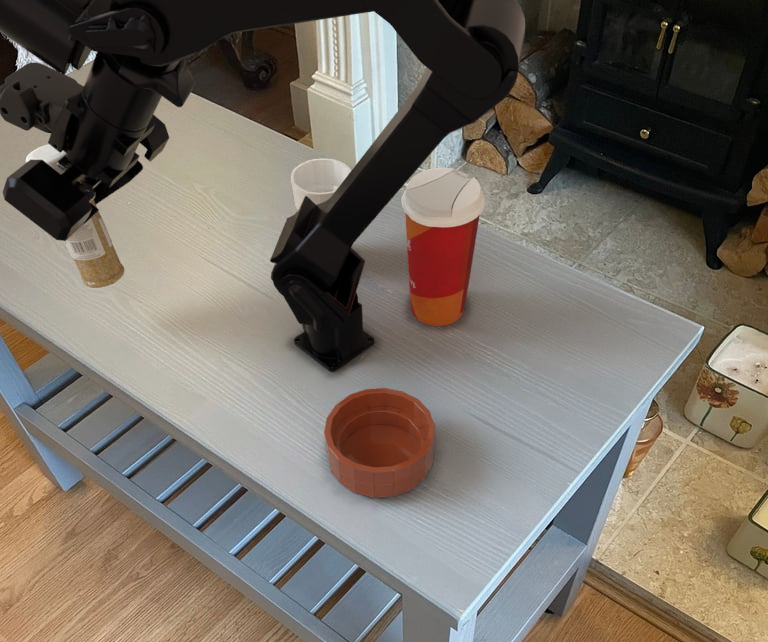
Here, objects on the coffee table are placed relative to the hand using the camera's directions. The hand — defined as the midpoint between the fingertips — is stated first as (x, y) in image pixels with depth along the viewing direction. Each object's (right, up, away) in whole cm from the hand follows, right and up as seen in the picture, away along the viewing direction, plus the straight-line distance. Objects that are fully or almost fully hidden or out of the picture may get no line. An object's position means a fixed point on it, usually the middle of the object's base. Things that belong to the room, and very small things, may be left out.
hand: (67, 219), depth 80 cm
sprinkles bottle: (+2, -5, +5) cm, 7 cm away
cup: (+25, +1, +15) cm, 29 cm away
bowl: (+31, -24, -2) cm, 40 cm away
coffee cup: (+38, -6, +10) cm, 40 cm away
